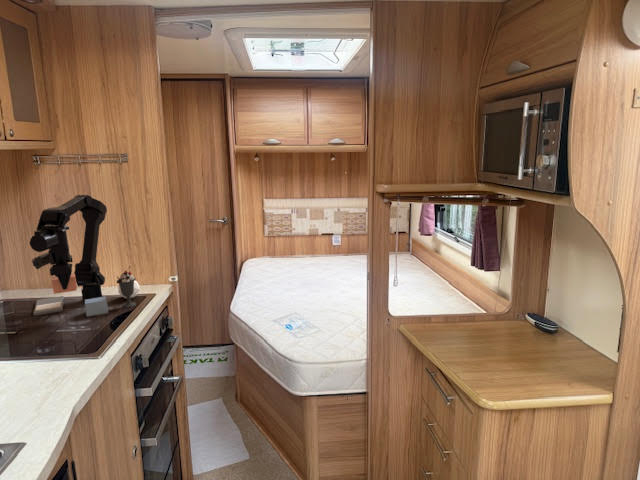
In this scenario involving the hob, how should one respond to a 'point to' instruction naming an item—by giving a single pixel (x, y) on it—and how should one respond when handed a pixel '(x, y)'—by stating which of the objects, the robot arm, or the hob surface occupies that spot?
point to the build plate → (49, 305)
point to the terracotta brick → (58, 288)
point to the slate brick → (96, 306)
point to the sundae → (127, 287)
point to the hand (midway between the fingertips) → (65, 287)
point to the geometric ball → (136, 289)
